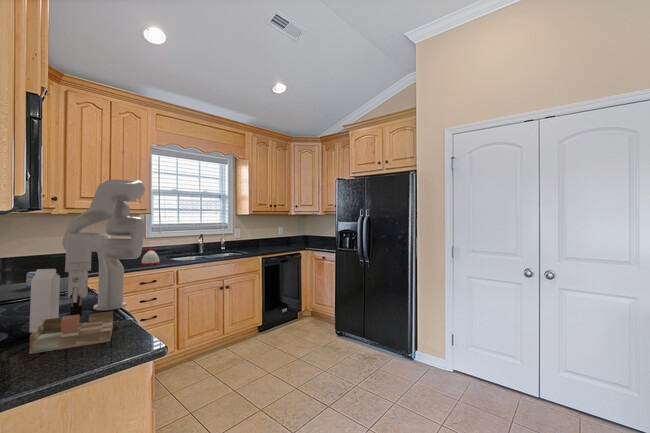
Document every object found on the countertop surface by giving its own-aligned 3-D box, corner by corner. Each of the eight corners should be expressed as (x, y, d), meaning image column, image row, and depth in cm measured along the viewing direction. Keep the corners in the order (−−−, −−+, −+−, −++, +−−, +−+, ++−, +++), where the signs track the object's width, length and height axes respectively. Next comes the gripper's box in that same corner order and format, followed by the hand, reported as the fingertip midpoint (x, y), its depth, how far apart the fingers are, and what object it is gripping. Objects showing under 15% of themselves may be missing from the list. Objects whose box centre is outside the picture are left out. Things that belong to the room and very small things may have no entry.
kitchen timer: (140, 263, 273) (141, 246, 273) (157, 262, 281) (158, 246, 281) (142, 265, 262) (143, 247, 262) (160, 264, 270) (161, 247, 270)
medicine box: (25, 288, 174) (26, 272, 174) (34, 286, 178) (35, 271, 178) (36, 289, 172) (36, 273, 172) (45, 287, 176) (45, 272, 176)
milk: (49, 331, 111) (52, 270, 111) (28, 332, 109) (31, 270, 109) (58, 325, 116) (60, 267, 116) (38, 326, 114) (40, 268, 115)
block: (62, 327, 107) (63, 316, 107) (79, 325, 110) (79, 314, 110) (60, 331, 104) (61, 320, 104) (77, 329, 106) (78, 317, 106)
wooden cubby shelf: (43, 335, 107) (43, 319, 107) (112, 325, 118) (113, 311, 118) (29, 353, 92) (30, 335, 92) (110, 341, 103) (110, 324, 103)
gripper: (88, 268, 110) (86, 320, 109) (92, 264, 122) (90, 310, 122) (61, 270, 106) (58, 323, 105) (68, 265, 118) (66, 313, 118)
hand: (76, 316), depth 113 cm, fingers closed
